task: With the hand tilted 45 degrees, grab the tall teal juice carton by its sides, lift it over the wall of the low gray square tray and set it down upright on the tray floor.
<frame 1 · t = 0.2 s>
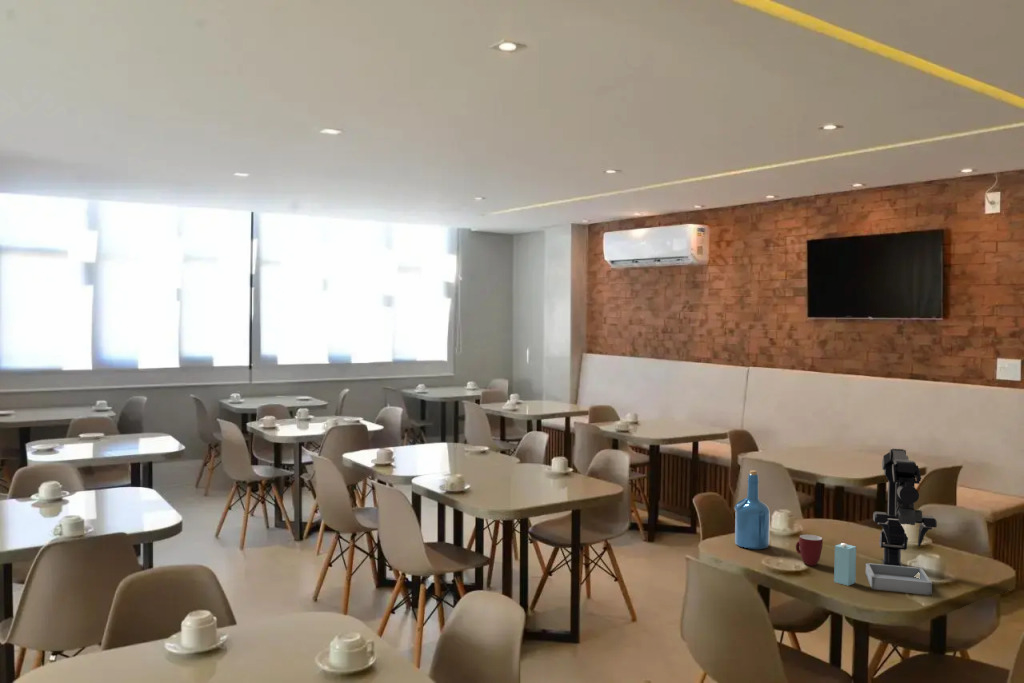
hand: (903, 545, 266), 14 cm above the table, tool pointing down, fingers open, 9 cm apart
gray square tray: (897, 584, 270), on the table
wine bottle: (751, 546, 315), on the table
mug: (807, 564, 292), on the table
carton: (844, 582, 271), on the table
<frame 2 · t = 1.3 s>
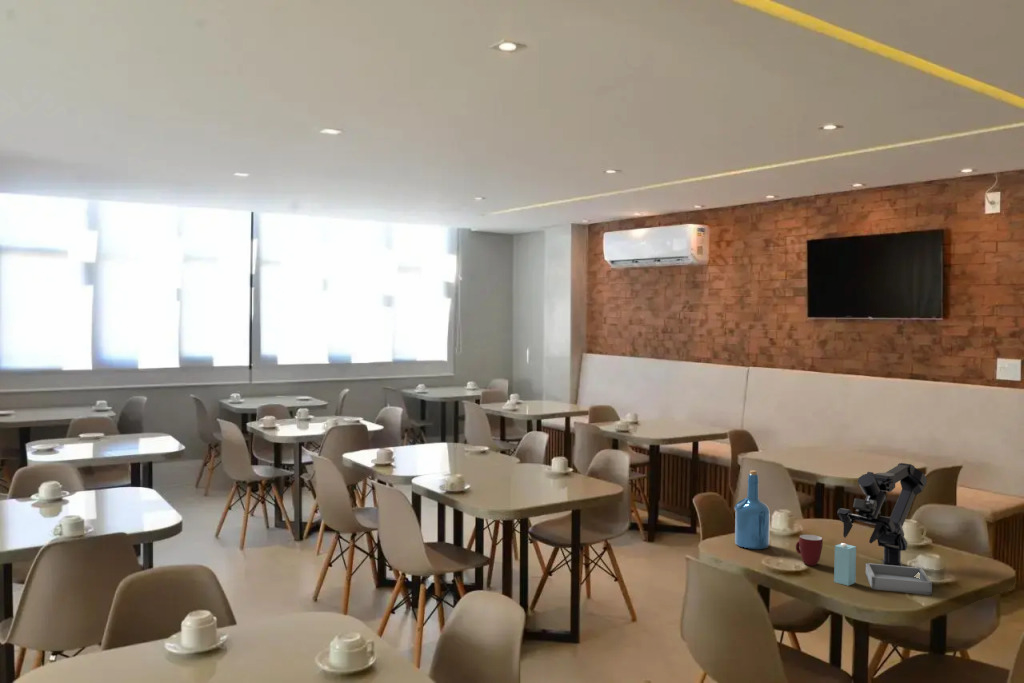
hand: (857, 539, 276), 13 cm above the table, tool tilted 45°, fingers open, 9 cm apart
nothing on the table moved.
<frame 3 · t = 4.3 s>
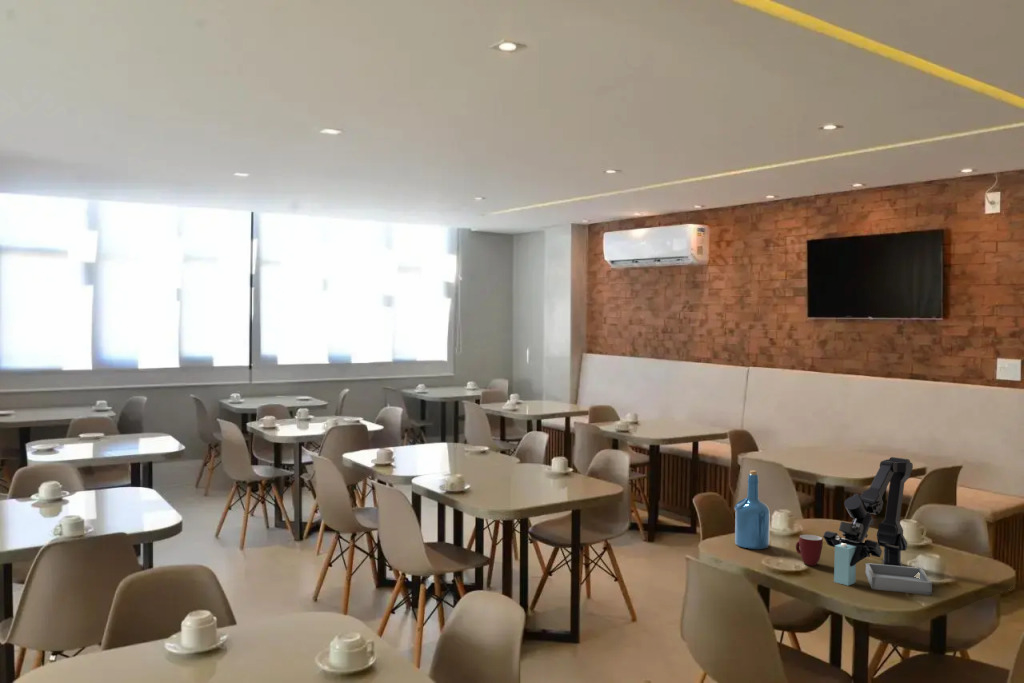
hand: (843, 563, 270), 7 cm above the table, tool tilted 45°, fingers closed on carton, 5 cm apart
carton: (844, 582, 271), on the table, touching gripper
everything else where it was.
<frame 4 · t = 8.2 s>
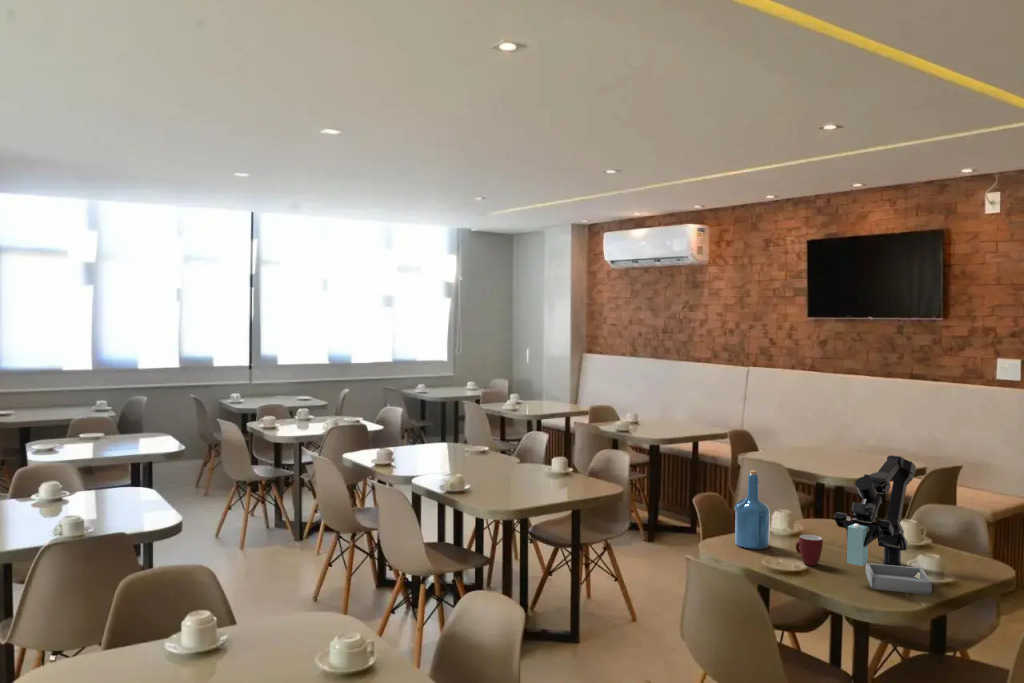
hand: (856, 544, 269), 14 cm above the table, tool tilted 45°, fingers closed on carton, 5 cm apart
carton: (857, 563, 270), point 7 cm above the table, touching gripper
everything else where it was.
when the fingers open (9 cm above the table, at t = 11.9 s): carton drops 1 cm, resting on gray square tray.
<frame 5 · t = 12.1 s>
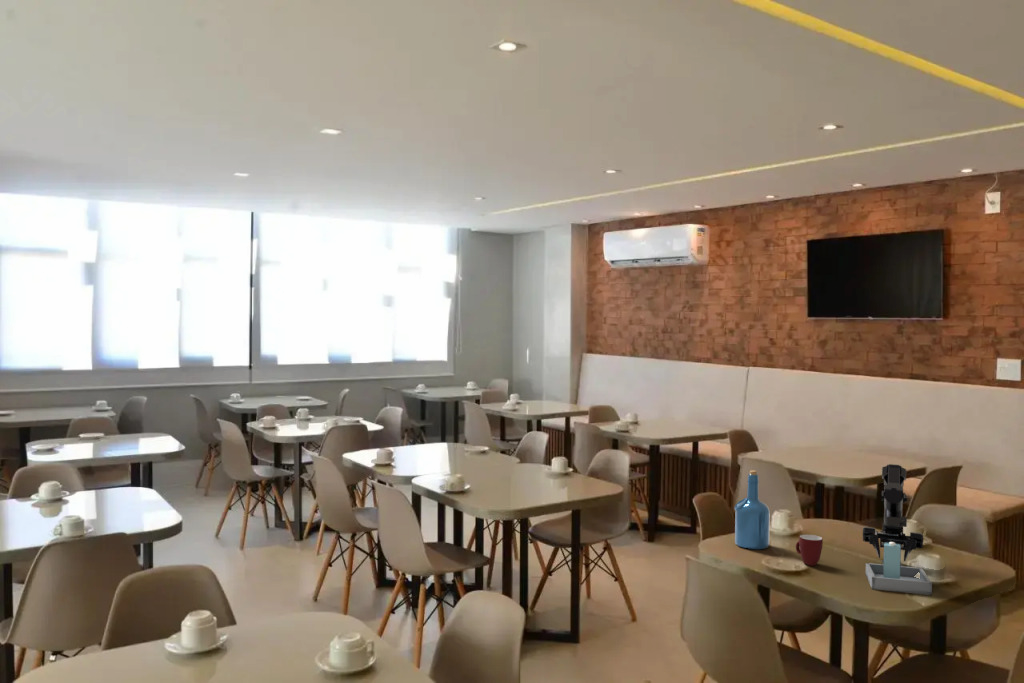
hand: (891, 559, 268), 9 cm above the table, tool tilted 45°, fingers open, 7 cm apart
carton: (891, 581, 269), point 1 cm above the table, touching gray square tray
everything else where it was.
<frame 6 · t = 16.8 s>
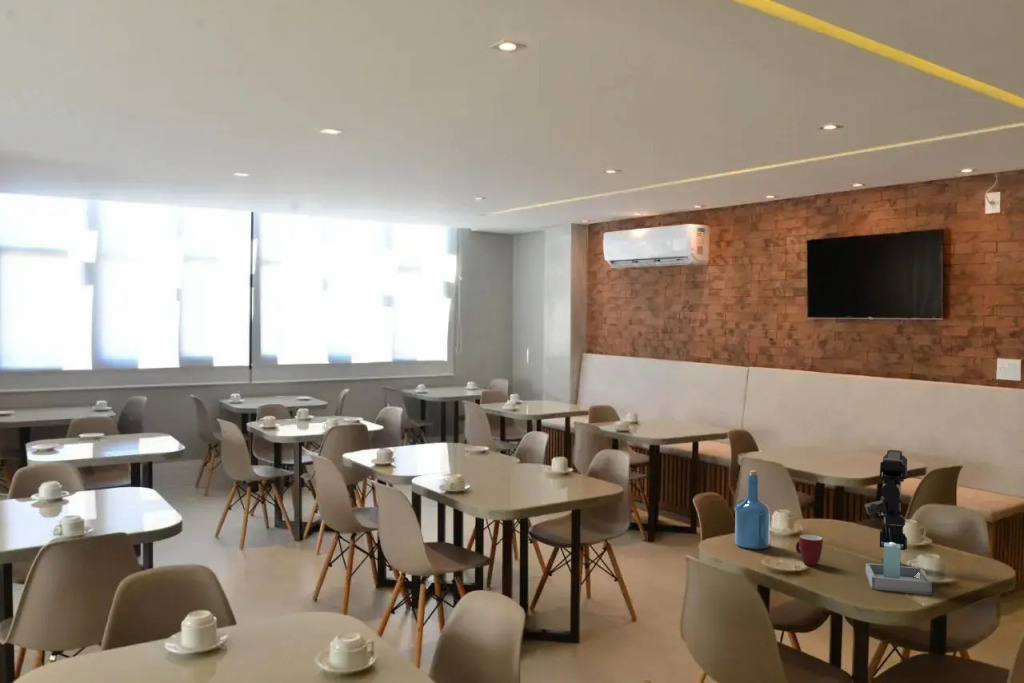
hand: (890, 539, 278), 13 cm above the table, tool pointing down, fingers open, 9 cm apart
nothing on the table moved.
at the end: carton inside the target area on the gray square tray (2.2 cm from its centre), point 1.0 cm above the gray square tray's base; carton tilted 0°; the gripper is holding nothing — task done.
